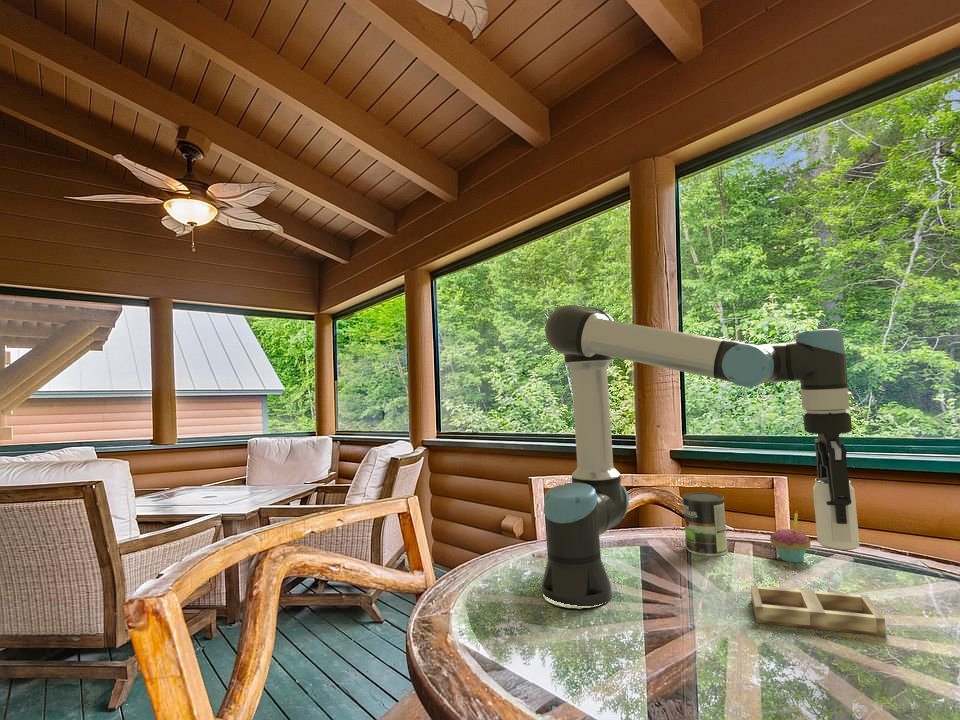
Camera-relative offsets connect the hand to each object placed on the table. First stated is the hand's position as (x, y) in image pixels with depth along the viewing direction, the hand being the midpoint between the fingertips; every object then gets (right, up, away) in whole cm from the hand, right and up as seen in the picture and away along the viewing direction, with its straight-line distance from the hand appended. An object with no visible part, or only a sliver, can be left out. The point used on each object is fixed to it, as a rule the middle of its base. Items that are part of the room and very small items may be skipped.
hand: (837, 534), depth 98 cm
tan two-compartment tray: (-4, -16, +1) cm, 17 cm away
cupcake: (+10, -16, +31) cm, 36 cm away
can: (0, -2, 0) cm, 2 cm away
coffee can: (-7, -18, +41) cm, 45 cm away
